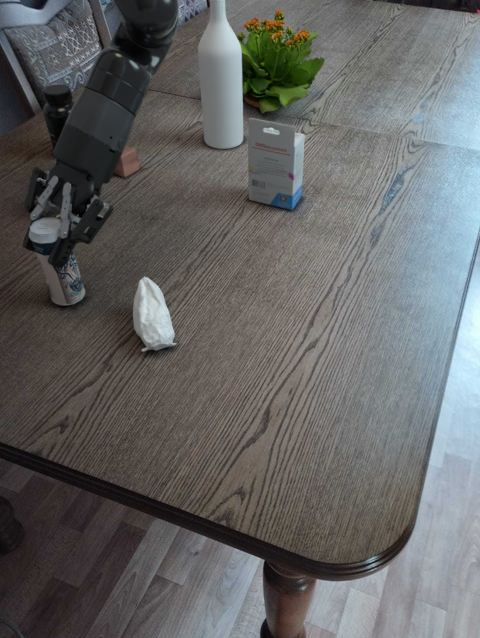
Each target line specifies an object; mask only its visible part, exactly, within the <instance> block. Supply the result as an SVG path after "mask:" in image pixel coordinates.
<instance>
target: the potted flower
mask: <svg viewBox="0 0 480 638" xmlns="http://www.w3.org/2000/svg"><path fill="white" fill-rule="evenodd" d="M274 12H275V13H274V18H273V19H271V20H269V19H268V18H267V19H263V20H262V21H261V19H260V18H257V17H253V18H252V20H250V21H249V20H247V21H245V22H244V25H243V26H242V29H246V30H247V32H248V37H247V40H246V42H245V38H246V34H245V33H244V31H243V30H242V31H241V32H240V33H236V37H237V39H238V41H239V43H240V45H241V52H242V94H243V100H244V102H246V103H247V104H248V105H250V106H252V107H254V108H259V111H260V113H261V114H262V115H264V114H265V113H268V112H274V111H277V110H278V109H280V106H282V107H283V108H284V109H286V108H288V107H289V106H290V105H292V104H293V103H295V102H297V101H299V100H301V99H304V98H306V97H308V96H307V95H309V92H310V91H309V90H308V89H310V88H311V85H313V81H315V80H316V76H317V75H318V74H319V72H320V71H321V69H322V68H323V66H324V65H325V62H326V61H325V58H324V57H320V58H319V57H318V56H317V57H314V58H309V57H310V54H311V53H312V51H313V49H312V47H311V46H312V45H313V42H312V41H313V40H314V39H315V40H316V38H318V37H319V36H320V34H319V33H318V32H316V31H315V32H312V30H310V31H309V29H308V28H305V29H302V30H299V32H298V33H297V32H294V31H293V28H292V27H291V25H287V27H286V28H285V26H284V25H285V24H286V22H285V21H284V19H285V18H286V16H285V14H284V10H283V9H280V10H279V9H276V10H274ZM284 34H285V36H284ZM306 58H309V59H306Z"/></svg>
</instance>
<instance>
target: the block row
mask: <svg viewBox="0 0 480 638" xmlns="http://www.w3.org/2000/svg"><path fill="white" fill-rule="evenodd" d="M139 170H140V164H139V157H138V151H137V148H134V147H133V146H128V145H126V146H125V148H124V151H123V153H122V155H121V157H120V160H119V162H118V164H117V166H116V169H115V171H114V173H113V175H114V174H115V175H117V176H120V177H122V178H127V177H129V176H131V175H132V174H133V173H134V174H135V172H137V171H139ZM38 198H39V197H38V196H36V198H35V199H36V201H37V202H38ZM49 201H50V200H49ZM50 202H51V201H50ZM48 211H49V210H46V211H45V214H46V213H47V212H48ZM55 218H56V219H59V218H61V217H60V215H57V216H56V217H55Z"/></svg>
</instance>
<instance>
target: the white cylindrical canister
mask: <svg viewBox="0 0 480 638" xmlns="http://www.w3.org/2000/svg"><path fill="white" fill-rule="evenodd" d="M61 227H62V220H60V219H59V218H53V217H50V218H42V219H39V220H37V221H35V222H34V223H33V224H32V225H31V226H30V231H29V238H30V239H31V241H32V244H33V247H34V249H35V252H34V253H35V255H36V258H37V261H38V263H39V266H40V269H41V271H42V274H43V277H44V280H45V282H46V286H47V288H48V292H49V294H50V299H51V301H52V302H53V303H54V304H55V305H59V306H71V305H75V304H76V303H78V302H80V301H82V300H83V298H84V297H85V296H86V289H85V286H84V282H83V280H82V276H81V273H80V269H79V265H78V262H77V258H76V256H75V252H74V250H73V251H72V253H71V255H70V258H69V260H68V262H67V264H66V265H64V267H63V268H58V267H55V266H52V265H50V264H49V263H48V258H49V256H50V254H51V251H52V249H53V247H54V245H55V242H56V240H57V238H58V237H61V236H60V233H61Z"/></svg>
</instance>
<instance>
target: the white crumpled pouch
mask: <svg viewBox="0 0 480 638" xmlns="http://www.w3.org/2000/svg"><path fill="white" fill-rule="evenodd" d="M170 314H171V313H170V310H169V309H168V307H167V303H166V299H165V296H164V294H163V291H162V290H161V288H160V286H158V285H157V283H155V282H154V281H153V280H152V279H150V278H149V277H146V276H145V275H144V276H143V277H142V278H141V279H140V280H139V281H138V285H137V289H136V292H135V294H134V298H133V305H132V321H133V329H134V332H135V334H136V335H137V336H138V337H139V338H140V339H141V342H143V344H144V346H145V347H144V348H142V349H141V352H142V353H143V352H146V351H151V350H153V351H159V350H162V349H165V348H171V347H174V346H176V345H177V342H174V339H175V337H176V334H175V329H174V327H173V323H172V317H171V315H170Z"/></svg>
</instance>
